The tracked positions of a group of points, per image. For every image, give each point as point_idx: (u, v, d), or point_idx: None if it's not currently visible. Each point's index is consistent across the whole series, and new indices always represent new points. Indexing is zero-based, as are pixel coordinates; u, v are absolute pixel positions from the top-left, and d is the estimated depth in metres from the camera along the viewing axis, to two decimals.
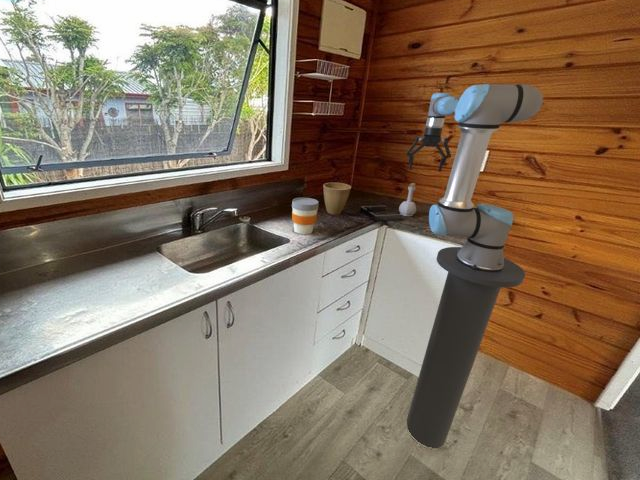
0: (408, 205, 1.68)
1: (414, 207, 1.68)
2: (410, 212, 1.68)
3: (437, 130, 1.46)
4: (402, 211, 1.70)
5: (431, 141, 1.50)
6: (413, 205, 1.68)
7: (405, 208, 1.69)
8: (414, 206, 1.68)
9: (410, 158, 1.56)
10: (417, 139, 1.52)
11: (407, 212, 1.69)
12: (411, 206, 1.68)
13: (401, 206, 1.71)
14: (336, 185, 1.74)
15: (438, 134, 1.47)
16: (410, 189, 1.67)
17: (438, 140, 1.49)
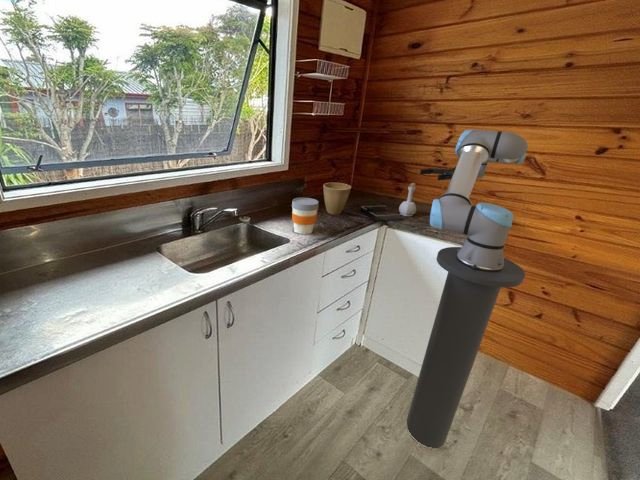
0: (408, 205, 1.68)
1: (414, 207, 1.68)
2: (410, 212, 1.68)
3: None
4: (402, 211, 1.70)
5: (452, 171, 1.68)
6: (413, 205, 1.68)
7: (405, 208, 1.69)
8: (414, 206, 1.68)
9: None
10: (444, 168, 1.74)
11: (407, 212, 1.69)
12: (411, 206, 1.68)
13: (401, 206, 1.71)
14: (336, 185, 1.74)
15: None
16: (410, 189, 1.67)
17: None
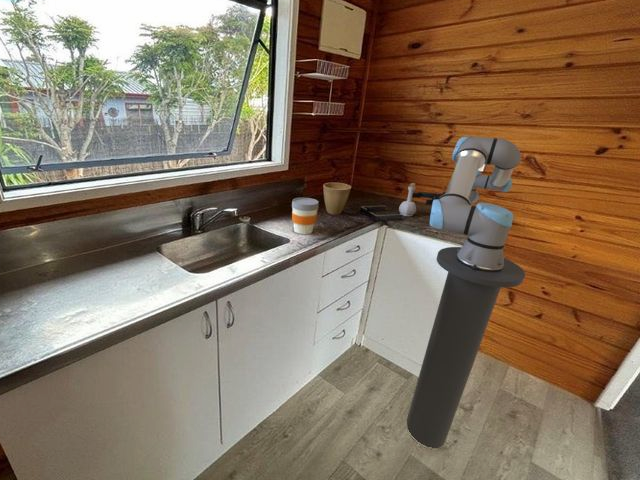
0: (408, 205, 1.68)
1: (414, 207, 1.68)
2: (410, 212, 1.68)
3: None
4: (402, 211, 1.70)
5: (441, 196, 1.73)
6: (413, 205, 1.68)
7: (405, 208, 1.69)
8: (414, 206, 1.68)
9: None
10: None
11: (407, 212, 1.69)
12: (411, 206, 1.68)
13: (401, 206, 1.71)
14: (336, 185, 1.74)
15: None
16: (410, 189, 1.67)
17: None
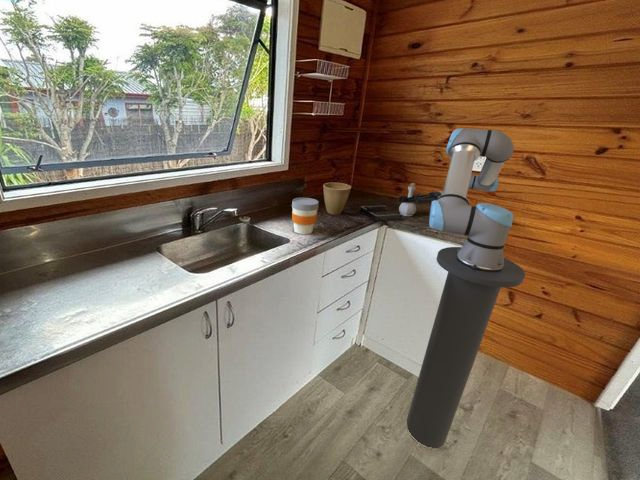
0: (408, 205, 1.68)
1: (414, 207, 1.68)
2: (410, 212, 1.68)
3: (439, 192, 1.70)
4: (402, 211, 1.70)
5: None
6: (413, 205, 1.68)
7: (405, 208, 1.69)
8: (414, 206, 1.68)
9: None
10: (419, 193, 1.76)
11: (407, 212, 1.69)
12: (411, 206, 1.68)
13: (401, 206, 1.71)
14: (336, 185, 1.74)
15: (436, 194, 1.69)
16: (410, 189, 1.67)
17: (432, 197, 1.69)
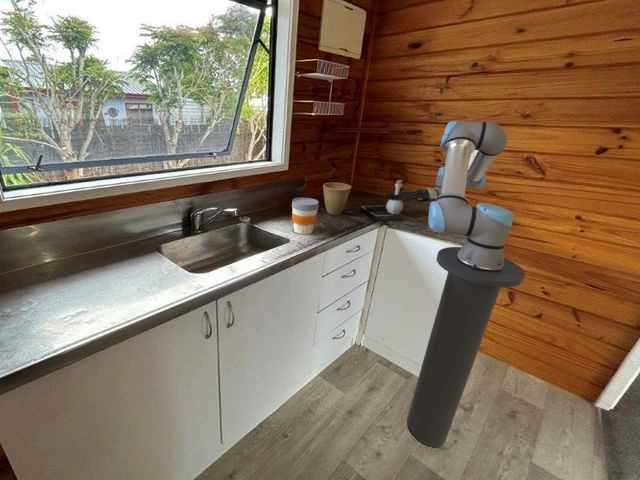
0: (395, 202, 1.66)
1: (401, 205, 1.66)
2: (397, 209, 1.66)
3: (426, 189, 1.68)
4: (389, 208, 1.69)
5: None
6: (400, 202, 1.66)
7: (392, 205, 1.67)
8: (401, 203, 1.66)
9: None
10: (407, 191, 1.74)
11: (394, 209, 1.67)
12: (398, 203, 1.66)
13: (388, 203, 1.69)
14: (336, 185, 1.74)
15: (424, 191, 1.67)
16: (397, 186, 1.65)
17: (419, 195, 1.67)
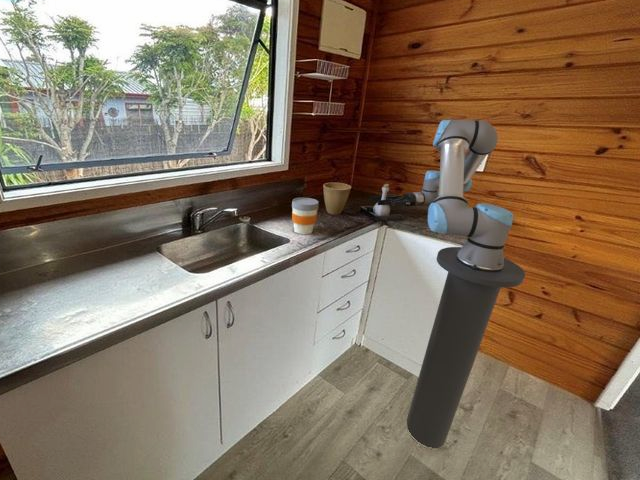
0: (382, 206, 1.65)
1: (388, 208, 1.66)
2: (383, 213, 1.66)
3: (413, 193, 1.68)
4: (376, 212, 1.68)
5: None
6: (387, 206, 1.65)
7: (379, 209, 1.66)
8: (388, 207, 1.66)
9: None
10: (394, 194, 1.74)
11: (380, 213, 1.66)
12: (384, 207, 1.65)
13: (375, 207, 1.68)
14: (336, 185, 1.74)
15: (410, 195, 1.67)
16: (384, 190, 1.64)
17: (406, 199, 1.66)
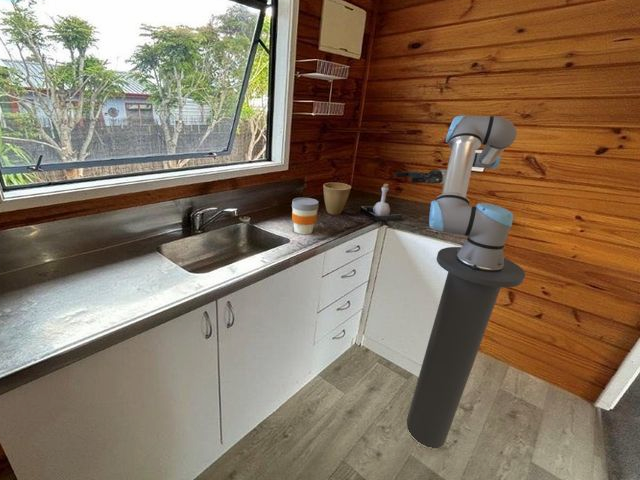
0: (382, 206, 1.65)
1: (388, 208, 1.66)
2: (383, 213, 1.66)
3: (439, 170, 1.65)
4: (376, 212, 1.68)
5: (427, 174, 1.66)
6: (386, 206, 1.65)
7: (378, 209, 1.66)
8: (387, 207, 1.66)
9: None
10: (421, 172, 1.72)
11: (380, 213, 1.66)
12: (384, 207, 1.65)
13: (375, 207, 1.69)
14: (336, 185, 1.74)
15: (437, 172, 1.64)
16: (383, 190, 1.64)
17: (432, 176, 1.64)
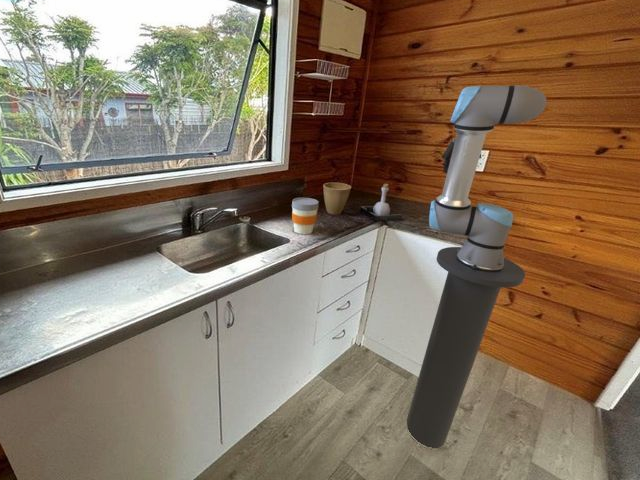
0: (382, 206, 1.65)
1: (388, 208, 1.66)
2: (383, 213, 1.66)
3: None
4: (376, 212, 1.68)
5: None
6: (386, 206, 1.65)
7: (378, 209, 1.66)
8: (387, 207, 1.66)
9: (447, 161, 1.48)
10: None
11: (380, 213, 1.66)
12: (384, 207, 1.65)
13: (375, 207, 1.69)
14: (336, 185, 1.74)
15: None
16: (383, 190, 1.64)
17: None
